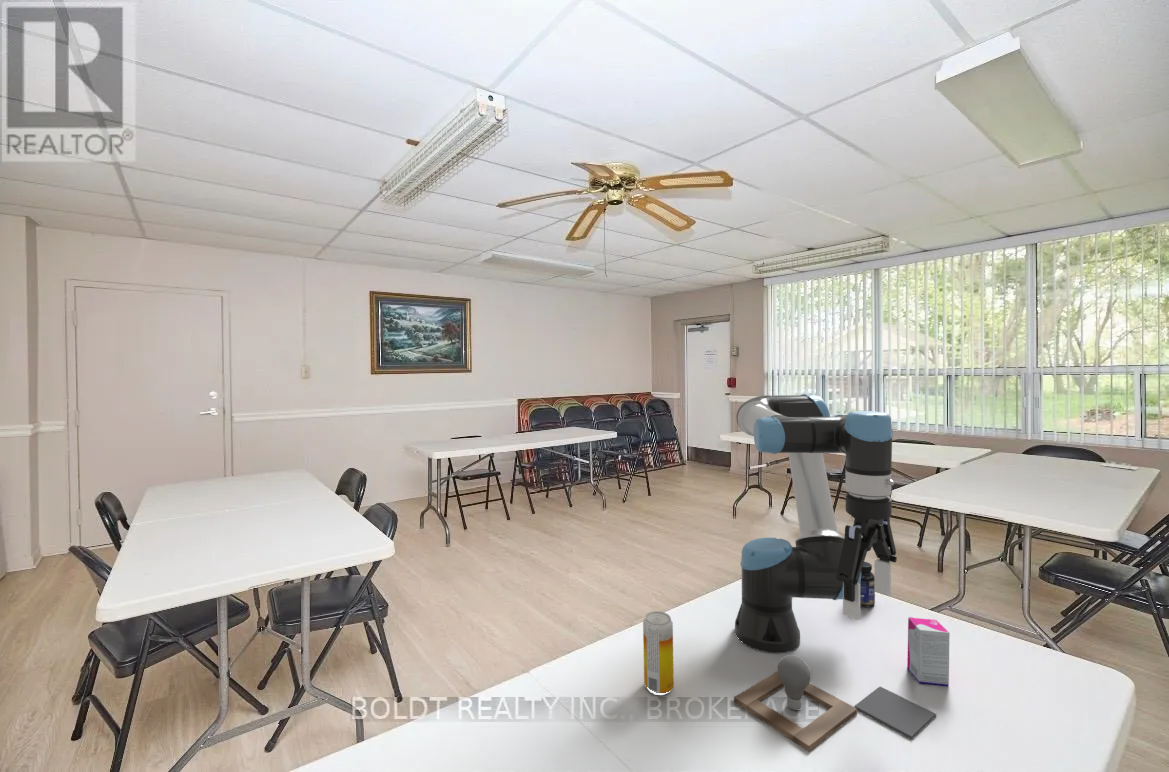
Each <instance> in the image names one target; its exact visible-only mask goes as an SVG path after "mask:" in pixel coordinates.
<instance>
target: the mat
mask: <svg viewBox="0 0 1169 772" xmlns="http://www.w3.org/2000/svg"><path fill="white" fill-rule="evenodd" d="M854 707H855V708H857V712H860V713H862V714H863V715H865V716H867V717H869V718H871V719H872V720H875V721H876V722H878V723H880V724H882V725H884V726H885V727H887V728H889V729H891V730H892V731H895V732H897V733H899V734H900V735H902V736H904V737H906V738H908V739H909V740H913V739H914V738H915V737H916V736H918V735H919V733H920V732H921V731H922V730H924V728H925V727H927V726H928V725H929V724H930V723H931V722H932V721H933V720H934V719H936V716H937V715H936V714H937V713H936V712H934V711H932V710H929V709H927V708H925V707H923V706H922V705H919V704H917V703H915V702H913V701H911V700H909V699H907V698H906V697H903V696H901V695H898V694H897V693H894V692H893V691H891V690H889V689H886V688H884V687H883V686H878V687H877V688H876V689H874V690H873V691H872V692H870V693H869V694H867V695H866V696H865V697H863V698H862V699H861V700H860V701H859V702H857V703H856V704H855V705H854Z"/></svg>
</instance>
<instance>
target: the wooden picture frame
mask: <svg viewBox="0 0 1169 772" xmlns="http://www.w3.org/2000/svg"><path fill="white" fill-rule="evenodd" d="M782 688H785V687H784V685H783V684H782V682H781V680H780V678H779V676H778V671H777V670H776V671H775V672H774V673H772V674H770V675H768V676H766V677H765V678H763V679H761V680H759V681H758V682H756V683H755V684H753V685H752V686H750V687H748V688H746V689H745V690H743V691H742V692H740V693H738V694H736V695H735V696H733V702H734V703H735V704H736V705H738V706H740V707H741V708H742V709H744V710H746V711H747V712H749V713H750V714H751V715H753V716H755V717H756V718H758V719H759V720H761V721H762V722H763V723H765V724H767V725H769V726H770V727H771V728H772V729H774V730H776V731H777V732H779V733H780V734H782V735H783V736H785V737H786V738H788V739H789V740H791V741H793V742H794V743H795V744H797V745H799V746H800V747H801V748H803V749H804V750H806V751H808V752H811V751H812V750H813V749H814V748H816V747H817V746H818V745H819V744H821V743H822V742H823V741H824V740H826V739H827V738H829V736H831V735H832V734H834V733H835V732H836V731H837V730H838V729H840V728H841V727H842V726H843V725H845V724H846V723H847V722H849V721H850V720H851V719H852V718H854V717H855V716H856V715H857V714H858V710H857V708H855V706H853V705H851V704H849V703H848V702H846V701H844V700H842V699H840V698H838V697H836V696H835V695H833V694H830V693H829V692H827V691H825V690H823V689H822V688H820V687H818V686H816V685H815V684H812V683H811V682H810V683H809V685H808V686H807V687H806V689H805V690H804V692H803V696H805V697H807V698H809V699H811V700H812V701H814V702H816V703H818V704H819V705H821V706H822V707H824V708H827V710H826V711H825V712H824V713H822V714H821V715H819V716H818V717H816V718H815V719H814V720H813V721H811V722H810V723H808V724H807V725H805V727H802V726H800V725H798V724H797V723H795V722H793V721H792V720H790V719H789V718H787V717H786V716H784V715H783V714H781V713H779V712H777V711H776V710H774V709H772V708H771V707H769V706H768V705H766V704H765V703H763V702H762V701H763V700H765V699H767V698H768V697H770V696H771V695H773V694H775V693H776V692H778V691H779V690H781V689H782Z"/></svg>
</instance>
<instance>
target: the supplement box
mask: <svg viewBox="0 0 1169 772" xmlns="http://www.w3.org/2000/svg"><path fill="white" fill-rule="evenodd" d="M907 619H908V620H907V621H908V622H907V667H906V669H907V670H908V672H909V673H910V674H911V676H913V679H914V680H915V681H916V683H917V684H918V685H922V686H923V685H925V686H935V687H936V686H937V687H946V688H948V687H949V683H950V635H951V634H950V632H949V631H948V630H947V629H946V628H945V627H944V626H943V624H941V623H940V622H939V621H938V620H937V619H934V618H933V619H929V618H919V617H911V616H909V617H907Z"/></svg>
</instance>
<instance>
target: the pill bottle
mask: <svg viewBox="0 0 1169 772" xmlns="http://www.w3.org/2000/svg"><path fill="white" fill-rule="evenodd" d="M872 571H873V566H872V564H871V563H870V562H867V561H864V563H863V567H862V570H861V582H860V608H861V607H862V608H873V607H874V606H875V604H876V592H874V575H875V573H873V572H872Z"/></svg>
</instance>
